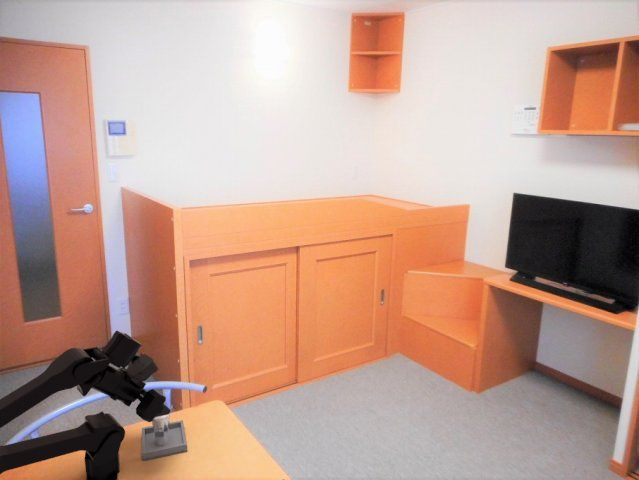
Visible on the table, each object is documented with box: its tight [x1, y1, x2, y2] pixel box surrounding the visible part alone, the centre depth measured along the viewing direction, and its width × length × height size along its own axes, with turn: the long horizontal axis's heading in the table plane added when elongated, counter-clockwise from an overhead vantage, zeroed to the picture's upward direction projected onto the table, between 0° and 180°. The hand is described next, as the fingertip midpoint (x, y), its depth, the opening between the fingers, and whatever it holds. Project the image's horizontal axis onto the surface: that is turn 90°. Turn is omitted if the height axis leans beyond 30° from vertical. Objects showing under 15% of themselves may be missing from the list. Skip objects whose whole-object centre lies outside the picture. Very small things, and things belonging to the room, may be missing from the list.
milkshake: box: [151, 404, 174, 445], centre depth 118 cm, size 4×5×10 cm
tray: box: [141, 419, 188, 462], centre depth 119 cm, size 10×10×2 cm
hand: (159, 404), depth 116 cm, fingers open, 9 cm apart
